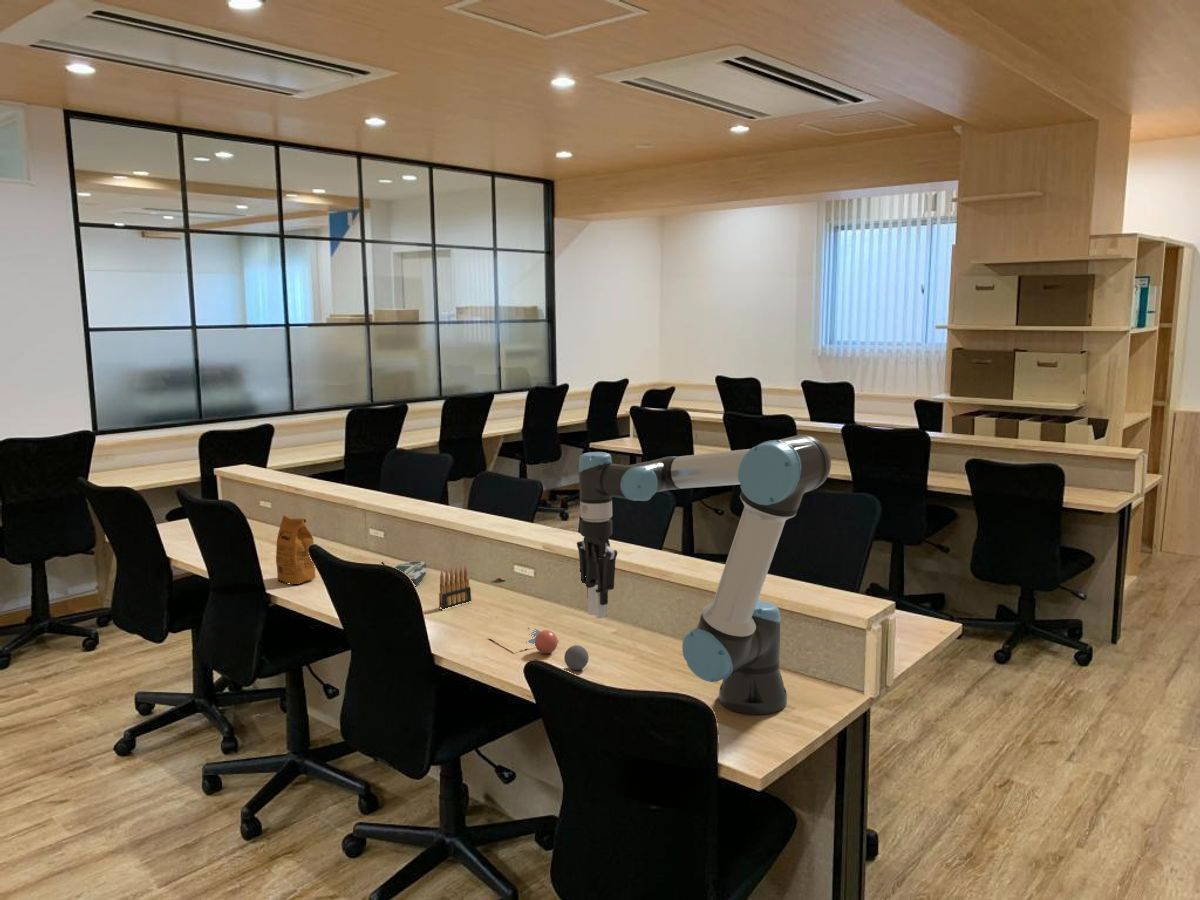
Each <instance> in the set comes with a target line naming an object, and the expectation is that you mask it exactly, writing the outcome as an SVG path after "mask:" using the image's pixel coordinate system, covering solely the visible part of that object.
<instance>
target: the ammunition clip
mask: <svg viewBox="0 0 1200 900" xmlns="http://www.w3.org/2000/svg"><path fill="white" fill-rule="evenodd" d="M444 573H445V574H444ZM471 591H472V590H471V586H470V577H469V570H468V566H467V564H465V566H464V568H463V566H462V565H461V566H460V567H459V569H458V567H455V570H454V569H453V568H451V569H450V571H448V569H446V570H445V572H444V571H443V570H440V578H439V593H438V594H439V595H438V598H439V604H438V605H439V608H440V607H441V608H442V609H445V608H448V607H452V606H455V605H458V604H462V603H466V602H469V601H471V602H472V592H471ZM439 608H438V609H439Z"/></svg>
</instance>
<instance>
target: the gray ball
mask: <svg viewBox="0 0 1200 900" xmlns="http://www.w3.org/2000/svg"><path fill="white" fill-rule="evenodd" d="M588 663H589V652H588V651H587V650H586V648H585V647H583V646H581V645H577V644H574V645H571V646H570V647H568V648H567V650H566V651H565V653H564V664H565V665H566V666H567V667H568V668H569V669H571V670H574V671H580V670H582V669H584V668H585V667H586V666H587V665H588Z"/></svg>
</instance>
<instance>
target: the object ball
mask: <svg viewBox="0 0 1200 900" xmlns="http://www.w3.org/2000/svg"><path fill="white" fill-rule="evenodd" d="M558 641H559V639H558V636H557V635H556V634H555V633H554V631H552V630H548V629H545V630H541V631H540V632H539V633H538V634H537V636H536V638H535V646H536V649H537V651H538V652H540V653H541V654H546V655H547V654H552V653H553V652H554V651H555V650H556V649H557V647H558V643H559V642H558Z"/></svg>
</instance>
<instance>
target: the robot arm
mask: <svg viewBox="0 0 1200 900" xmlns="http://www.w3.org/2000/svg"><path fill="white" fill-rule="evenodd" d="M578 463H579V464H578V465H579V466H578V479H579V480H578V482H579V483H578V484H579V509H580V510H579V517H580V518H581V519H580V521H579V526H580V527H579V528H580V529H579V531H580V535H581V536H582V537H583V540H581V541H577V542H576V546H577V549H578V557H579V558H578V559H579V566H580V572H581V581H582V583H585V584H586V585H585V587H586V590H587V594H586V595H587V611H588V613H587V614H588V615H589V616H592V615H595V616H596V617H595V619H597V620H598V619H602V618H607V617H608V603H609V597H608V594H609V591H611V590H614V589H615V572H616V559H617V556H618V550H616V549H614V550H613V549H612V548H611V543H610V536H612V534H613V519H612V517H613V498H619V499H625V500H630V501H633V502H637V501H641V502H647V501H650V499H652V498H653V496H655V494H656V493H659V492H664V491H671V490H674V491H675V490H681V489H683V490H684V489H692V488H693V489H694V488H707V487H708V488H709V487H723V486H736V485H740V486H739V487H740V489H741V492H740V493H739V498H740V500H741V502H742V503H743V510H742V513H741V516H740V519H739V522H738V525H737V528H736V531H735V534H734V538H733V540H732V543H731V547H730V550H729V552H728V554H727V555H728V556H727V558H726V562H725V565H724V567H723V571H722V573H721V576H720V579H719V583H718V585H717V589H716V590H715V591H716V592H715V596H714V598H713V601H712V603H708V604H707V605H705V606H704V607H703V609H702V611H701V613H700V617H699V620H698V623H697V626H696V628H694V629H691V630H690V631H689V632H688V633H687V634H686V635H685V636H684V638H683V640H682V645H681V646H682V647H681V649H682V650H681V651H682V655H683V659H684V661H686V665H687V667H688V668H689V669H690V671H691V672H692V673H693V675H695V676H696V677H698V678H699V679H700V680H703V681H705V682H709V683H716V682H720V681H722V682H721V685H720V686H719V690H718V693H719V694H718V697H719V698H718V699H719V700H718V701H719V702H720V704H721V705H722V706H723V707H724V708H726V709H728V710H730V711H731V712H736V713H739V714H746V715H755V716H758V715H759V716H760V715H761V716H762V715H770V714H774V713H777V711H778V712H780V711H781V709H782V710H783V709H784V708H786V706H787V703H788V702H787V701H788V692H787V690H786V687H785V685H784V681H783V677H782V676H783V675H782V674H781V670H780V655H781V654H780V652H781V651H780V649H781V648H780V647H781V643H780V642H781V623H782V621H781V617H780V614H781V613H780V609H779V608H778V607H777V605H775V604H773V603H771V602H767V601H764V600H759V598H760V595H761V593H762V589H763V587H764V583H765V581H766V578H767V575H768V572H769V570H770V568H771V564H772V561H773V558H774V555H775V552H776V549H777V547H778V543H779V540H780V538H781V535H782V532H783V529H784V526H785V524H786V521H787V520H789V519H792V518H794V517H795V516H796V515H797V514H798V513H797V512H798V510H799V508H800V506H801V502H802V498H803V496H804V494H806V493H808V492H811V491H814V490H815V489H817V488H819V487H820V486H822V485H823V484H824V483H825V482H826V480H827V478H828V476H829V475H830V472H831V467H832V459H831V456H830V452H829V450H828V448H827V447H826V445H824V443H823V442H822V441H821V440H819V439H817V438H816V437H814V436H811V435H806V434H804V435H803V434H797V435H793V436H789V437H786V438H781V439H774V440H773V439H772V440H767V441H763V442H761V443H759V444H757V445H755V446H754V447H752V448H747V449H735V450H727V451H717V452H707V453H700V454H691V455H681V456H675V455H674V456H664V457H661V458H657V459H652V460H648V461H643V462H639V463H635V464H629V465H628V464H627V465H626V464H617V463H614V462H613V461H612V455H611V454H610V453H607V452H603V451H589V452H585V453H583V454H581V455H580V456H579V462H578ZM585 576H586V577H585Z"/></svg>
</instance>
